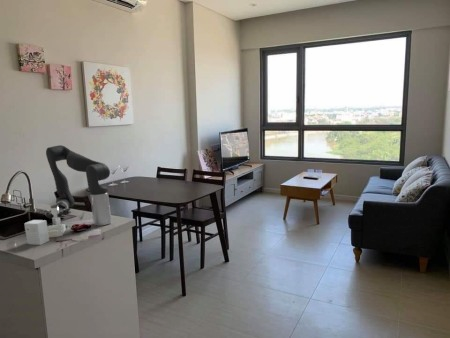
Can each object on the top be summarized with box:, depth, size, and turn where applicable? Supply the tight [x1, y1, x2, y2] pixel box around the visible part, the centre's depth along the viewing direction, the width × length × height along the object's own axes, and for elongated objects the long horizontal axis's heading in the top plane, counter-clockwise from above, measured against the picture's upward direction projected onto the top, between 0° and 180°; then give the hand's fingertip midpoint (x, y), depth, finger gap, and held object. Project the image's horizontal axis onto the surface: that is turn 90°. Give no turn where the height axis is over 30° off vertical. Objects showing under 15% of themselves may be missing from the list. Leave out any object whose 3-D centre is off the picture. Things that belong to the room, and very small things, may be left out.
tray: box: [47, 223, 66, 239], centre depth 176 cm, size 11×11×3 cm
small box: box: [23, 219, 50, 246], centre depth 164 cm, size 8×6×10 cm
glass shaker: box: [50, 203, 62, 225], centre depth 188 cm, size 4×4×12 cm
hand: (54, 216), depth 185 cm, fingers closed on glass shaker, 4 cm apart
